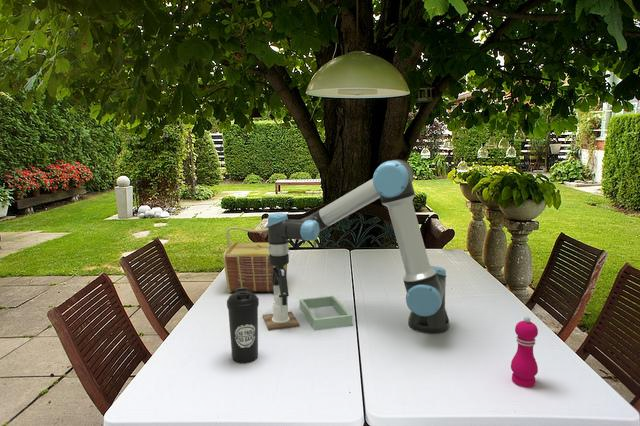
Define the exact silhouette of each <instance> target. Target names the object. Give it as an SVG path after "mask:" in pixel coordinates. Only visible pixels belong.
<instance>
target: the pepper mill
mask: <svg viewBox="0 0 640 426" xmlns="http://www.w3.org/2000/svg"><path fill="white" fill-rule="evenodd" d="M514 332H515V335H516V337H515V338H516V343H517V349H516V352H515V354H514V356H513V358H512V360H511V362H510V369H511V371H512V375H511V381H512V383H513V384H515V385H516V386H520V387H522V388H533V387H534V386H535V385H536V377H535V376H536V375H537V374H538V373H539V367H538V363H537V361H536V358H535V355H534V346H535V345H536V338H537V336H538V334H539V329H538V327H537V325H536V324H535V323H534V322H532V321H531V318H530V316H524V318H523V320H521V321H519V322H517V323H516V324H515V328H514Z"/></svg>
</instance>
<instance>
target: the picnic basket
mask: <svg viewBox="0 0 640 426" xmlns="http://www.w3.org/2000/svg"><path fill="white" fill-rule="evenodd" d="M231 230H242V231H244V232H246V233H247V232H248V233H256V234H257V233H265V232H268V227H266V228H258V229H257V228H255V229H254V228H249V227H248V228H247V227H241V226H234V227H233V226H231V227H229V228H227V229H226V232H225V234H226V241H227V242H226V243H227V248H226V249H225V251H224V252H223V253H222V254H223V255H222V259H223V260H222V261H223V265H224V274H225V279H226V285H227V290H228V293H230V294H231V293H236V288H241V287H247V289H248V291H249V292H252V293H257V292H260V293H263V292H266V293H267V292H269V293H270V292H271V293H272V292H273V293H274V286H275V285H273V281H272V279H273V265H271V264H270V263H269V255H270V253H269V249H268V248H267V246H269V241H268V242H264V241H262V242H259V241H258V242H235V241H233V242H232V243H231V240H230V239H231V238H230V231H231ZM284 269H285V270H286V277H288V276H287V275H288V274H287V273H288V264H286V265H284Z"/></svg>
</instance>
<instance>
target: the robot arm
mask: <svg viewBox="0 0 640 426" xmlns="http://www.w3.org/2000/svg"><path fill="white" fill-rule="evenodd" d="M414 175H415V174H414V171H413V168H412V166H411V165H410V164H409V163H408V162H407V161H405V160H403V159H392V160H391V159H390V160H387V161H384V162H382V163H380V165H379V166H378V167H377V168H376V169H375V170H374V173H373V176H372V178H371V179H369V180H368V181H366V182H364V183H363V184H361V185H359V186H357V187H356V188H355V189H353V190H351V191H349V192H347V193H345V194H344V195H343V196H340V197H339V198H337V199H335V200H334V201H332V202H331V203H329V204H327V205H325V206H324V207H322V208H320V209H318V210H317V211H315V212H313V213H312V214H310V215H308V216H306V217H303V218H302V219H289V218H288V214H287V213H284V212H275V213H271V214H268V216H267V227H266V228H268V231H267V234H268V235H267V236H268V238H267V239H268V242H269V246H267V248H268V249H269V253H270V255H269V263H270V264H271V265H273V279H272V281H273V285H275V286H274V292H273V301H274V302H275V295H276V294H281V295H279V297H280V309H281V313H288V312H289V300H288V297H290V295H289V286H288V279H287V277H288V276H287V277H286V270H285V269H284V265H286V264H287V265H288V264H289V262H290V256H289V255H290V254H289V250H290V248H289V240H295V241H298V240H299V241H306V242H308V241H316V240H317V239H318V237H319V235H320V232H322V231H323V230H325V229H327V228H329V227H330V226H332V225H333V224H335V223H338V222H339V221H340V220H344V218H346V217H348V216H350V215H352V214H353V213H355V212H357V211H358V210H360V209H362V208H364V207H365V206H368V205H369V204H371V203H373V202H375V201H377V200H378V199H380V201H381V204H382V206H385V207H386V208H387V210H388V214H389V216H390V217H389V218H390V221H391V224H392V228H393V230H394V231H393V232H394V236H395V240H396V241H397V245H398V250H399V253H400V257H401V260H402V264H403V267H404V271H405V274H404V275H403V278H402V280H403V283H404V287H405V291H406V294H405V302H406V303H405V304H406V306H407V307H408V309H409V310H410V314H409V316H408V318H407V319H408V324H407V325H408V327H409V328H410V329H411V330H413V331H416V332H419V333H424V334H440V333H445V332H447V331H448V330H449V328H450V320H449V316H448V313H447V310H446V286H447V285H446V282H447V281H446V280H447V271H446V269H445V268H444V267H441V266H435V265H430V261H429V257H428V254H427V250H426V246H425V243H424V239H423V236H422V232H421V228H420V225H419V221H418V217H417V213H416V210H415V206H414V202H413V200H414V198H415V197H416V192H415V189H414V185H413V181H414ZM274 302H273V303H274Z"/></svg>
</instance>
